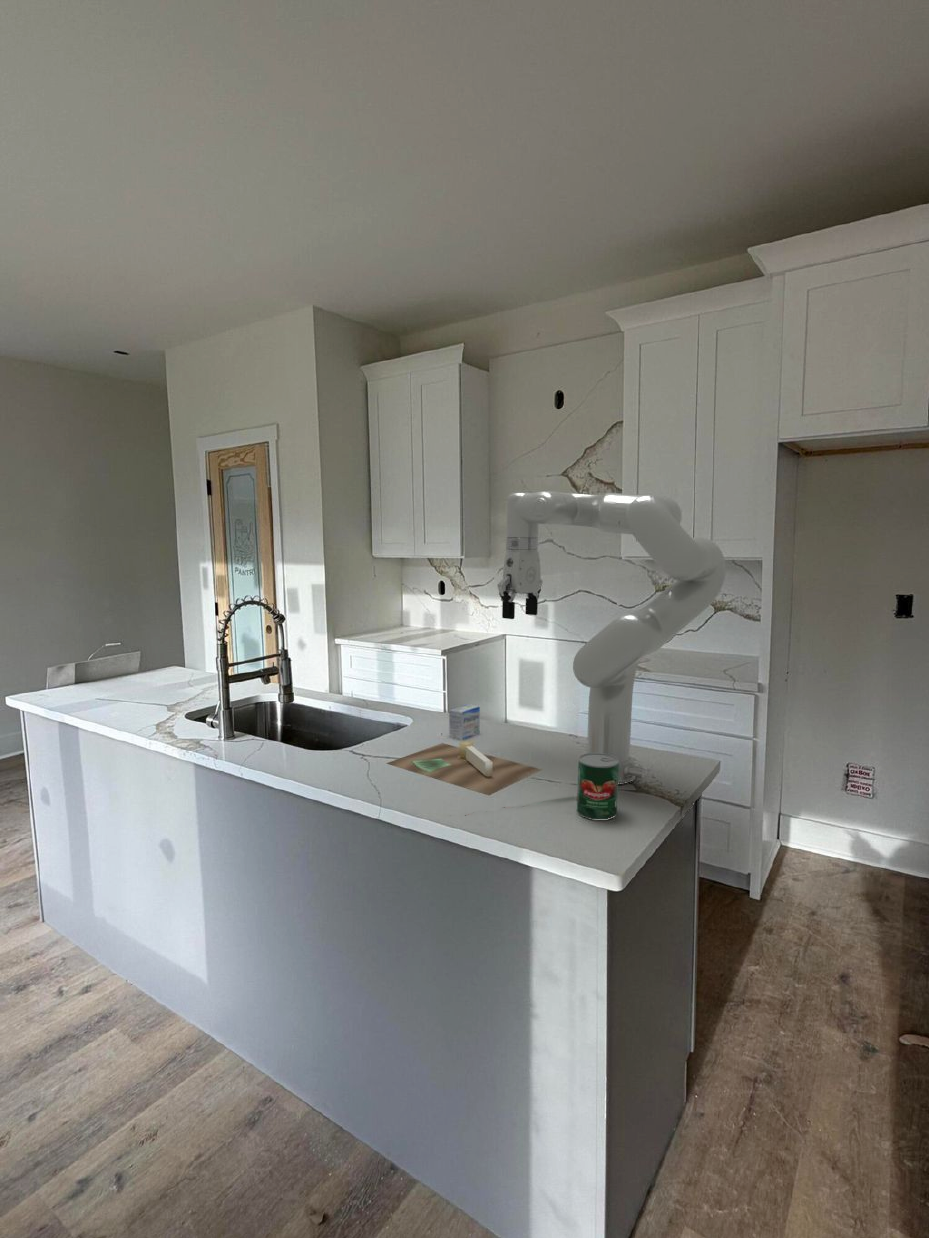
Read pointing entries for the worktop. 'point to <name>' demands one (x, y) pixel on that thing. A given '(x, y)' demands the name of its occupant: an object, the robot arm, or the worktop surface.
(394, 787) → the worktop surface
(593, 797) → the canned tomato
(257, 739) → the worktop surface
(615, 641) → the robot arm
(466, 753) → the pointer
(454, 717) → the medicine box
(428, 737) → the worktop surface
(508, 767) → the dial board
